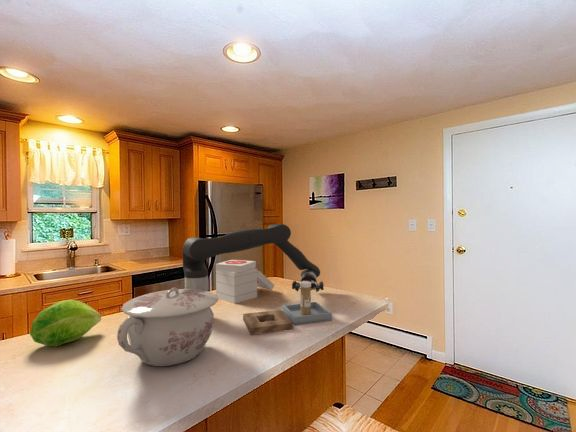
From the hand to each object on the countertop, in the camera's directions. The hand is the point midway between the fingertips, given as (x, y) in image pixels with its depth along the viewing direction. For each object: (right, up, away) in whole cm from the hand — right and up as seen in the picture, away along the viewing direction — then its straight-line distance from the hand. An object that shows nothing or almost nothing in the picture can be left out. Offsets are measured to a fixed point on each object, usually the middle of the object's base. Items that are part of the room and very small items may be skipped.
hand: (307, 289), depth 130 cm
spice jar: (-1, -9, -4) cm, 10 cm away
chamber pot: (-44, -11, -38) cm, 59 cm away
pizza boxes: (-31, -10, +28) cm, 43 cm away
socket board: (-16, -10, -14) cm, 24 cm away
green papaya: (-83, -11, -28) cm, 89 cm away
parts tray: (-1, -10, -4) cm, 11 cm away
